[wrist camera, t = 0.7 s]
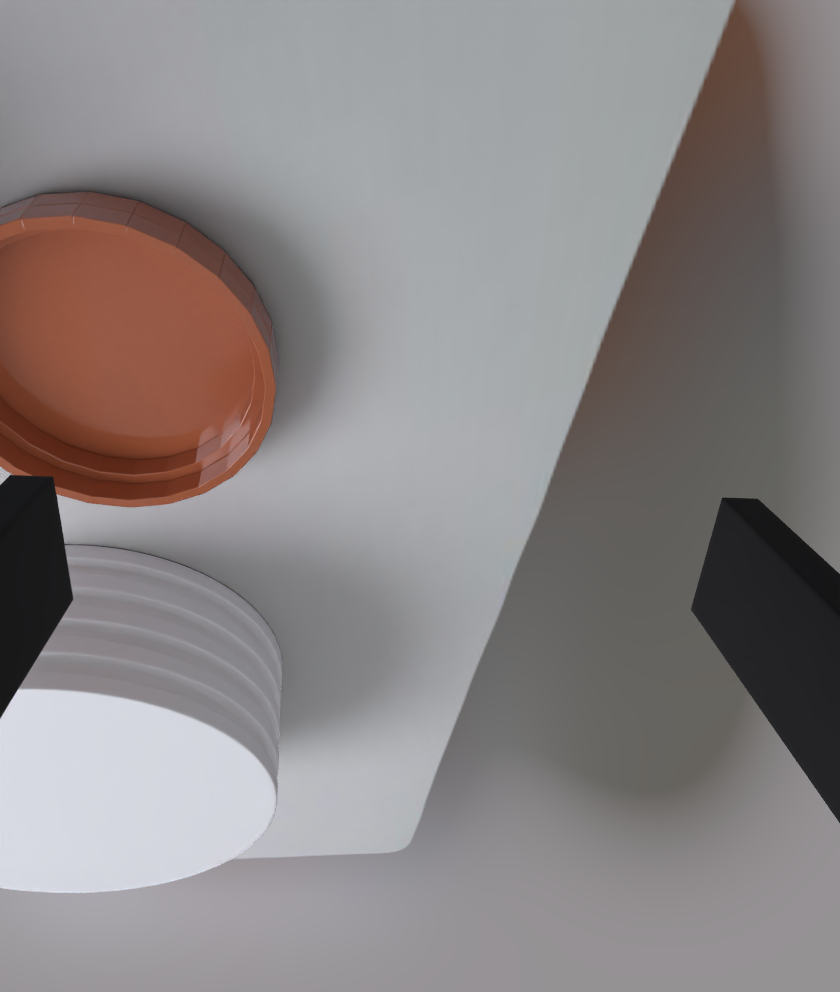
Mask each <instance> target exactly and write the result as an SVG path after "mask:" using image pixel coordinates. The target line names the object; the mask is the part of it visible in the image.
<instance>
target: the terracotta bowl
mask: <svg viewBox="0 0 840 992" xmlns="http://www.w3.org/2000/svg"><path fill="white" fill-rule="evenodd" d="M277 372H278V354H277V348H276V342H275V336H274V331H273V325H272V323H271V320H270V318H269V316H268V314H267V312H266V310H265V308H264V305H263V303H262V301H261V299H260V297H259V295H258V293H257V291H256V289H255V288H254V286H253V284H252V283H251V282H250V281H249V280H248V278H247V277H246V276H245V275H244V274H243V272H242V271H241V270H240V269H239V268H238V266H237V265H236V264H235V263H234V262H233V260H232V259H231V258H230V257H229V256H228V255H227V253H225V251H224V250H223V249H221V248H220V247H218V246H217V245H216V244H214V243H213V242H212V241H210V240H209V239H208V238H206V237H205V236H204V235H202V234H201V233H200V232H198V231H197V230H196V229H194V228H193V227H192V226H190V225H189V224H188V223H185V221H182V220H180V219H178V218H176V217H173V216H171V215H169V214H167V213H164V212H162V211H160V210H158V209H155V208H153V207H151V206H149V205H146V204H144V203H142V202H138V201H136V200H130V199H125V198H120V197H115V196H110V195H104V194H99V193H94V192H73V193H57V194H40V195H36V196H33V197H30V198H28V199H25V200H22V201H19V202H16V203H14V204H11V205H8V206H5V207H3V208H0V466H1V467H2V468H3V469H5V470H6V471H7V472H10V474H13V475H23V476H53V477H54V483H55V490H56V494H58V495H62V496H65V497H69V498H72V499H76V500H79V501H83V502H87V503H92V504H102V505H112V506H122V507H141V506H152V505H164V504H169V503H170V504H171V503H174V502H177V501H181V500H184V499H187V498H191V497H194V496H197V495H201V494H203V493H206V492H207V491H209V490H211V489H213V488H214V487H216V486H218V485H219V484H221V483H223V482H224V481H226V480H228V479H230V478H231V477H233V476H234V475H235V474H236V473H237V472H238V471H239V470H240V469H241V468H242V467H243V466H244V465H245V464H246V463H247V462H248V461H249V460H250V459H251V458H252V457H253V456H254V455H255V454H256V452H257V451H258V449H259V447H260V445H261V443H262V441H263V439H264V437H265V435H266V433H267V431H268V429H269V427H270V425H271V422H272V417H273V410H274V402H275V395H276V386H277Z"/></svg>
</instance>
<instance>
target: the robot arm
mask: <svg viewBox="0 0 840 992" xmlns="http://www.w3.org/2000/svg"><path fill="white" fill-rule="evenodd" d="M72 601H73V594H72V587H71V581H70V575H69V569H68V563H67V557H66V551H65V545H64V538H63V532H62V526H61V520H60V514H59V508H58V502H57V496H56V490H55V483H54V477H53V476H23V475H10V476H9V477H8V478H7V479H6V480H5V481H4V482H3V483H2V484H1V485H0V718H1V717H2V715H3V713H4V712H5V710H6V708H7V707H8V705H9V703H10V702H11V700H12V699H13V697H14V695H15V694H16V692H17V690H18V689H19V687H20V686H21V684H22V682H23V681H24V679H25V677H26V676H27V674H28V673H29V671H30V669H31V668H32V666H33V664H34V663H35V661H36V659H37V658H38V656H39V655H40V653H41V651H42V650H43V648H44V646H45V645H46V643H47V642H48V640H49V638H50V637H51V635H52V633H53V632H54V630H55V629H56V627H57V625H58V624H59V622H60V620H61V619H62V617H63V616H64V614H65V612H66V611H67V609H68V607H69V606H70V604H71V602H72ZM691 610H692V612H693V613H694V614H695V616H696V617H697V619H698V620H699V622H700V623H701V624H702V626H703V627H704V629H705V630H706V632H707V633H708V635H709V636H710V637H711V639H712V640H713V642H714V643H715V645H716V646H717V647H718V649H719V650H720V652H721V653H722V654H723V656H724V657H725V659H726V660H727V662H728V663H729V665H730V666H731V668H732V669H733V670H734V672H735V673H736V675H737V676H738V677H739V679H740V680H741V682H742V683H743V685H744V686H745V688H746V689H747V691H748V692H749V693H750V695H751V696H752V698H753V699H754V701H755V702H756V703H757V705H758V706H759V708H760V709H761V710H762V712H763V713H764V715H765V716H766V718H767V719H768V721H769V722H770V723H771V725H772V726H773V728H774V729H775V731H776V732H777V734H778V735H779V736H780V738H781V739H782V741H783V742H784V744H785V745H786V746H787V748H788V749H789V751H790V752H791V754H792V755H793V757H794V758H795V759H796V761H797V762H798V764H799V765H800V767H801V768H802V770H803V771H804V772H805V773H806V775H807V776H808V778H809V780H810V781H811V782H812V784H813V785H814V787H815V788H816V790H817V791H818V793H819V794H820V795H821V797H822V798H823V800H824V801H825V802H826V804H827V805H828V807H829V808H830V810H831V811H832V813H833V814H834V815H835V817H836V818H837V820H838V821H839V823H840V574H839V573H838V572H837V571H836V570H835V569H834V568H832V567H831V566H830V565H829V564H828V563H827V562H826V561H824V559H823V558H822V557H820V556H819V555H818V554H817V553H816V552H815V551H814V550H813V549H812V548H811V547H809V545H807V544H806V543H805V542H804V541H803V540H802V539H801V538H800V537H799V536H798V535H797V534H795V533H794V532H793V531H792V530H791V529H790V528H789V527H788V526H787V525H786V524H785V523H783V522H782V521H781V520H780V519H779V518H778V517H777V516H776V515H775V514H773V512H772V511H770V510H769V509H768V508H767V507H766V506H765V505H764V504H763V503H762V502H761V501H759V500H758V499H747V498H722V500H721V504H720V507H719V511H718V515H717V518H716V522H715V525H714V529H713V532H712V536H711V540H710V543H709V547H708V551H707V554H706V557H705V561H704V565H703V568H702V572H701V576H700V579H699V582H698V586H697V590H696V593H695V597H694V601H693V604H692V608H691Z"/></svg>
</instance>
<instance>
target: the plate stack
mask: <svg viewBox="0 0 840 992" xmlns="http://www.w3.org/2000/svg"><path fill="white" fill-rule="evenodd" d="M65 551H66V557H67V563H68V569H69V575H70V581H71V587H72V594H73V601H72V602H71V604H70V606H69V607H68V609H67V611H66V612H65V614H64V616H63V617H62V619H61V620H60V622H59V624H58V625H57V627H56V629H55V630H54V632H53V633H52V635H51V637H50V638H49V640H48V642H47V643H46V645H45V646H44V648H43V650H42V651H41V653H40V655H39V656H38V658H37V659H36V661H35V663H34V664H33V666H32V668H31V669H30V671H29V673H28V674H27V676H26V677H25V679H24V681H23V682H22V684H21V686H20V687H19V689H18V690H17V692H16V694H15V695H14V697H13V699H12V700H11V702H10V703H9V705H8V707H7V708H6V710H5V712H4V713H3V715H2V717H1V718H0V888H5V889H13V890H23V891H35V892H54V893H88V892H106V891H117V890H126V889H135V888H141V887H147V886H153V885H158V884H163V883H167V882H171V881H175V880H179V879H183V878H186V877H190V876H193V875H196V874H199V873H201V872H204V871H206V870H209V869H211V868H214V867H216V866H219V865H221V864H223V863H225V862H227V861H229V860H231V859H232V858H234V857H236V856H237V855H239V854H240V853H242V852H243V851H245V850H246V849H248V848H249V847H250V846H251V845H253V844H254V843H255V842H256V841H257V840H258V839H259V838H260V837H261V836H262V835H263V833H264V832H265V831H266V830H267V828H268V827H269V825H270V823H271V821H272V819H273V817H274V814H275V811H276V806H277V789H278V782H277V775H278V764H279V746H278V745H279V738H280V710H281V684H282V658H281V653H280V649H279V646H278V643H277V641H276V638H275V636H274V634H273V633H272V631H271V629H270V628H269V626H268V625H267V623H266V622H265V621H264V619H263V618H262V617H261V616H260V615H259V613H258V612H257V611H256V610H255V609H254V608H253V607H252V606H251V605H249V604H248V603H247V602H246V601H245V600H244V599H242V598H241V597H240V596H239V595H237V594H236V593H234V592H233V591H232V590H230V589H229V588H227V587H226V586H224V585H222V584H221V583H219V582H217V581H215V580H214V579H212V578H210V577H208V576H206V575H204V574H202V573H200V572H197V571H195V570H193V569H190V568H188V567H185V566H183V565H180V564H177V563H174V562H172V561H168V560H165V559H162V558H158V557H155V556H151V555H147V554H143V553H138V552H134V551H128V550H123V549H116V548H108V547H99V546H85V545H65Z"/></svg>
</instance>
